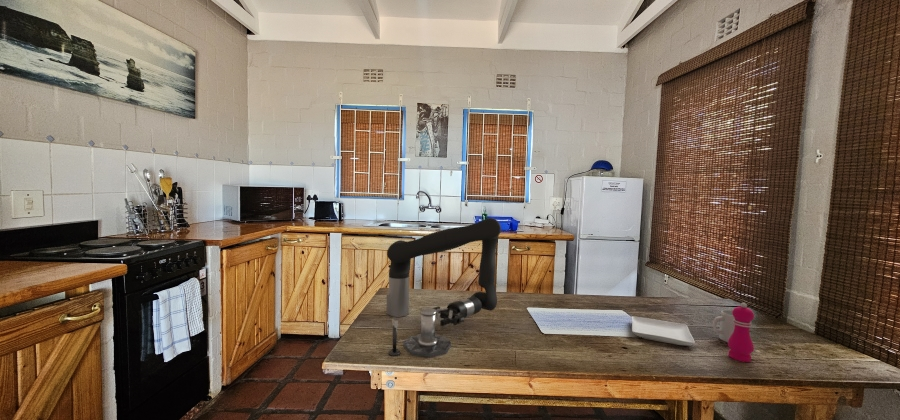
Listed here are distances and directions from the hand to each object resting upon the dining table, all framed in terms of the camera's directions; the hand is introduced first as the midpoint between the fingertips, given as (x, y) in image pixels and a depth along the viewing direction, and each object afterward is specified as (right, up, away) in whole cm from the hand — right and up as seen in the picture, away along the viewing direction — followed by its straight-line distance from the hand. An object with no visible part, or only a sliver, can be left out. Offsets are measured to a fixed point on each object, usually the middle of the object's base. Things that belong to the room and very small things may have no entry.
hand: (432, 320), depth 134 cm
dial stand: (-11, -9, -7) cm, 16 cm away
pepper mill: (+110, -12, -4) cm, 110 cm away
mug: (+117, -12, +11) cm, 118 cm away
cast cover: (-2, -8, -1) cm, 8 cm away
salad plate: (+92, -11, +15) cm, 94 cm away
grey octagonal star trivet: (-2, -9, -1) cm, 9 cm away
